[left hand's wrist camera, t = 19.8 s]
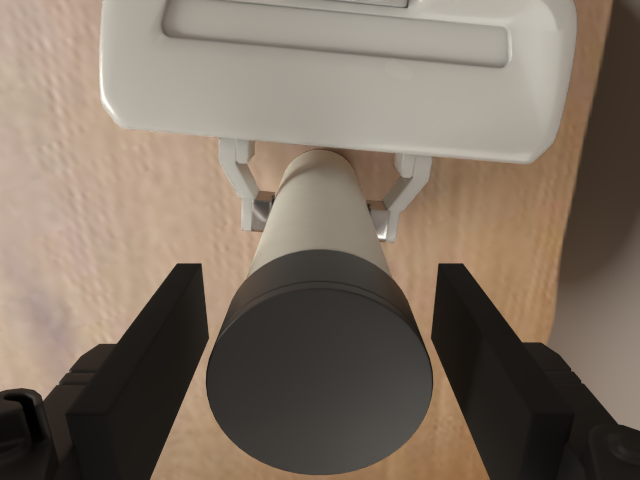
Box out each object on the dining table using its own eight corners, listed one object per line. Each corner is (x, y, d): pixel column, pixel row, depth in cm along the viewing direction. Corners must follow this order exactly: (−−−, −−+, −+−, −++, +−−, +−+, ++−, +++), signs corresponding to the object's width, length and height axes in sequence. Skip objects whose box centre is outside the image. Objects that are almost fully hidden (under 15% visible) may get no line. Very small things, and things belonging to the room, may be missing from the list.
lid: (433, 384, 13) (456, 445, 11) (266, 429, 14) (255, 496, 11) (384, 222, 11) (400, 257, 9) (194, 282, 12) (166, 328, 10)
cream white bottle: (330, 133, 27) (350, 241, 10) (372, 198, 29) (452, 391, 11) (266, 177, 28) (180, 345, 11) (309, 237, 30) (294, 471, 12)
